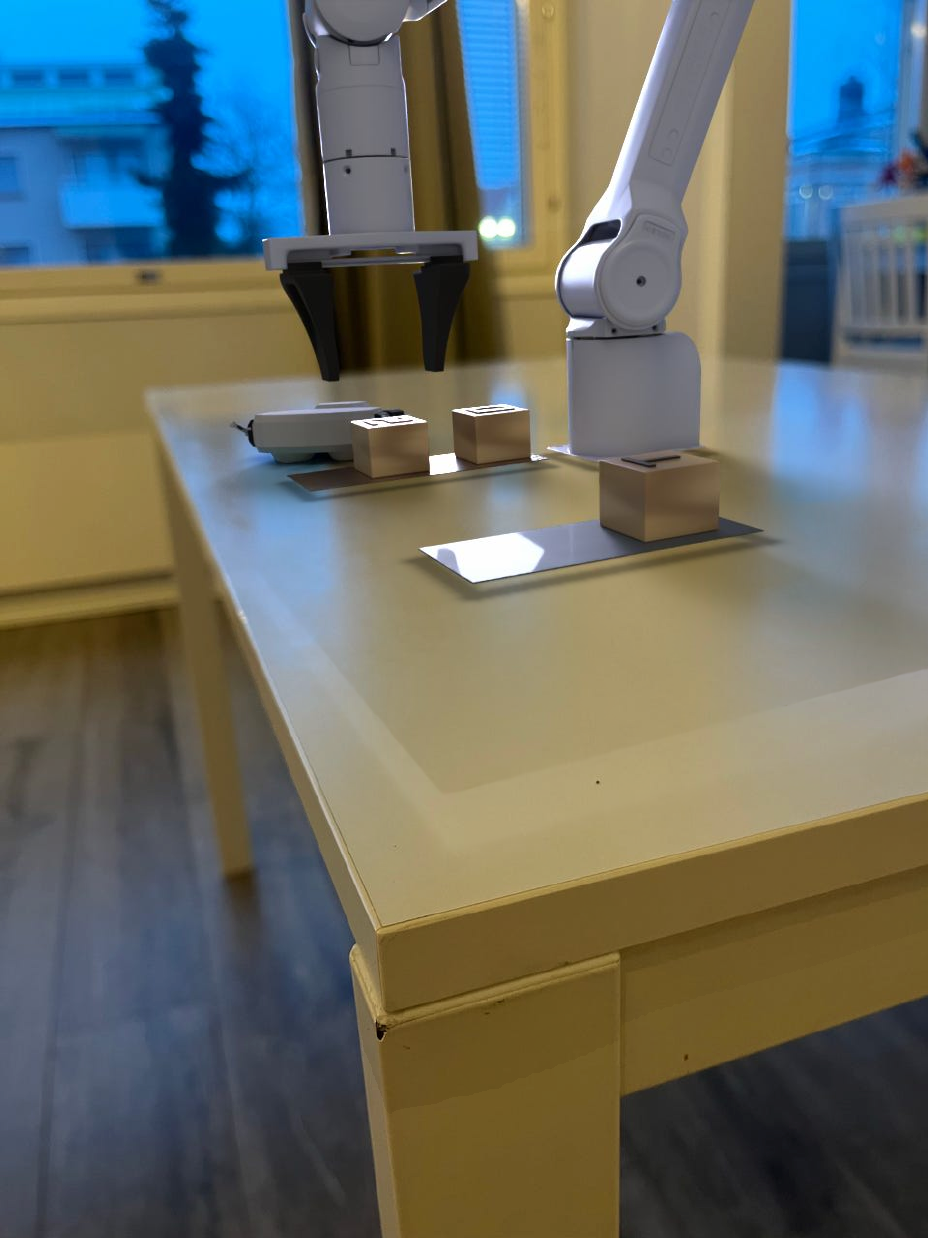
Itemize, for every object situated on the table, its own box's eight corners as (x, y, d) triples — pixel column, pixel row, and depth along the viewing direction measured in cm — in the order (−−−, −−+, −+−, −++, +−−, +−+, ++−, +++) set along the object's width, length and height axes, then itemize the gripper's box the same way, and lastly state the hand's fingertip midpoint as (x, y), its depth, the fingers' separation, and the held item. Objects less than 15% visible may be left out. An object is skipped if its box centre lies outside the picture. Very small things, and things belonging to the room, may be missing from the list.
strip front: (682, 515, 54) (682, 504, 54) (764, 541, 48) (764, 529, 48) (418, 559, 49) (417, 548, 48) (473, 596, 42) (472, 583, 42)
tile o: (506, 449, 75) (504, 402, 74) (531, 457, 71) (529, 408, 70) (454, 456, 73) (451, 408, 72) (477, 464, 69) (474, 414, 68)
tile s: (410, 462, 72) (406, 413, 71) (431, 470, 68) (427, 419, 67) (354, 469, 70) (349, 419, 69) (372, 478, 67) (367, 426, 65)
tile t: (669, 513, 52) (669, 447, 51) (719, 530, 48) (721, 458, 47) (598, 525, 51) (598, 457, 49) (645, 543, 47) (645, 470, 46)
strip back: (508, 453, 76) (508, 446, 76) (549, 466, 70) (549, 458, 70) (287, 482, 70) (286, 474, 70) (311, 499, 64) (309, 491, 64)
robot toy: (291, 453, 88) (230, 473, 73) (287, 403, 86) (224, 413, 72) (423, 449, 86) (386, 468, 71) (420, 397, 85) (382, 406, 70)
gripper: (446, 169, 69) (456, 364, 73) (244, 171, 63) (269, 380, 68) (486, 155, 62) (495, 369, 67) (266, 156, 57) (292, 388, 62)
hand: (383, 375), depth 67 cm, fingers open, 7 cm apart
